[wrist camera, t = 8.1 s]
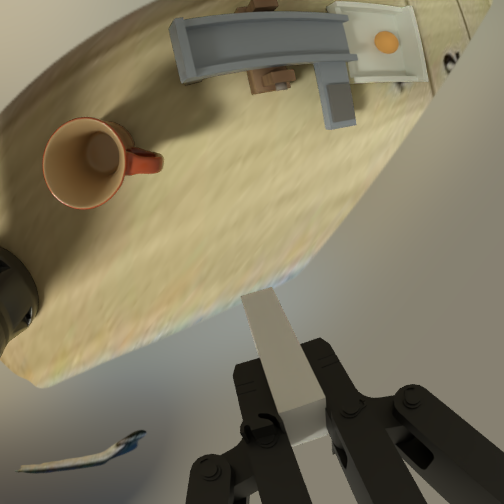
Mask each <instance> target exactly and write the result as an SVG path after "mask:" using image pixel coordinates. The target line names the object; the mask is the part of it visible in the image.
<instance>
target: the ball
mask: <svg viewBox="0 0 504 504" xmlns="http://www.w3.org/2000/svg"><path fill="white" fill-rule="evenodd" d="M374 42H375V46H376V47H377V49H378V50H379V51H381V52H383V53H385V54H391V53H394V52H395V51H396V50H397V49H398V46H399V42H398V39H397V38H396V36H395V35H394V34H392V33H390V32H387V31H382V32H379V33H378V34H377V35H376V36H375V39H374Z"/></svg>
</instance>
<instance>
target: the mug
mask: <svg viewBox="0 0 504 504" xmlns="http://www.w3.org/2000/svg"><path fill="white" fill-rule="evenodd" d="M163 165H164V157H163V155H161V154H159V153H156V152H151V151H146V150H143V149H141V148H137V147H135V144H134V141H133V138H132V137H131V135H130V133H129V132H128V131H127V130H126V129H125V128H124V127H122V126H121V125H119V124H117V123H114V122H110V121H102V120H99V119H96V118H92V117H80V118H76V119H72V120H70V121H68V122H66V123H64V124H63V125H62V126H60V127H59V128H58V129H57V130H56V131H55V132H54V133H53V135H52V136H51V137H50V139H49V141H48V143H47V145H46V148H45V151H44V155H43V174H44V178H45V182H46V184H47V186H48V188H49V190H50V191H51V193H52V194H53V195H54V196H55V198H56V199H58V200H59V201H60V202H61V203H63V204H65V205H66V206H69V207H71V208H75V209H92V208H95V207H98V206H100V205H102V204H104V203H105V202H107V201H108V200H109V199H111V198H112V197H113V196H114V195H115V193H116V192H117V191H118V190H119V188H120V187H121V185H122V183H123V180H124V177H125V176H130V175H134V174H154V173H158V172H160V171H161V170H162V169H163Z"/></svg>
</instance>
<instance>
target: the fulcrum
mask: <svg viewBox="0 0 504 504" xmlns="http://www.w3.org/2000/svg"><path fill="white" fill-rule="evenodd" d="M277 7H278V2H277V0H251V2H250V4H249V5H248V7H240V8H237V9H236V11H235V13H247V12H272V11H274V10H275V9H276V8H277ZM247 75H248V79H249V84H250V88H251V93H252V95H253V94H258V93H264V92H270V91H280V90H286V89H288V88H291V86H290V82H291V81H295V80H296V77H295V72H294V69H291V70H287V68H286V66H279V67H270V68H262V69H255V70H248V71H247ZM197 82H202V79H199V80H195V81H190V82H186V83H185V86H186V85H189V84H193V83H197Z"/></svg>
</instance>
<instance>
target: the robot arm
mask: <svg viewBox="0 0 504 504" xmlns="http://www.w3.org/2000/svg"><path fill="white" fill-rule="evenodd" d="M241 299H242V303H243V306H244V309H245V313H246V316H247V319H248V323H249V326H250V329H251V333H252V336H253V340H254V343H255V346H256V349H257V352H258V355H259V358H257V359H254V360H251V361H247V362H244V363H241V364H237V365H236V366H235V369H234V373H233V379H234V384H235V387H236V393H237V396H238V401H239V406H240V410H241V414H242V419H243V422H242V424H241V426H240V433H241V435H242V437H243V438H242V440H241V441H240V443H239V444H238V445H237V446H236V447H234V448H233V449H231V450H229V451H227V452H226V453H224V454H222V455H216V454H209V455H204V456H202V457H200V458H198V459H197V460H196V461H195V462H194V463H193V465H192V468H191V470H190V477H189V484H188V491H187V497H186V504H249V498H250V495H251V494H253V493H254V492H256V491H259V495H260V498H261V502H262V504H312V502H311V499H310V496H309V494H308V491H307V488H306V485H305V483H304V480H303V477H302V474H301V472H300V469H299V466H298V463H297V461H296V458H295V455H294V452H293V449H292V447H293V446H296V445H299V444H303V443H305V442H308V441H311V440H314V439H317V438H320V437H323V436H325V435H327V434H328V432H329V434H330V437H331V439H332V452H333V454H336V456H337V458H338V460H339V462H340V465H341V467H342V469H343V471H344V474H345V476H346V478H347V481H348V483H349V485H350V487H351V490H352V492H353V494H354V496H355V498H356V501H357V502H358V504H427V502H426V501H425V499H424V497H423V495H422V493H421V492H420V490H419V488H418V486H417V484H416V482H415V481H414V479H413V477H412V475H411V474H410V472H409V470H408V468H407V466H406V465H405V463H404V461H403V459H404V460H405V461H406V462H407V463H408V464H409V465H410V466H411V467H412V468H413V469H414V470H415V471H416V472H417V473H418V474H419V475H420V476H421V477H422V478H423V479H424V480H425V481H426V482H427V483H428V484H430V486H432V487H433V488H434V489H435V490H436V491H437V492H438V493H439V494H440V495H441V496H442V497H443V498H444V499H445V500H446V501H447V502H449V503H450V504H504V452H503V451H501V450H500V449H499V448H498V447H496V446H495V445H494V444H493V443H492V442H490V441H489V440H488V439H487V438H486V437H484V436H483V435H482V434H481V433H479V432H478V431H477V430H475V429H474V428H473V427H472V426H471V425H470V424H468V423H467V422H466V421H465V420H463V419H462V418H461V417H460V416H459V415H457V414H456V413H455V412H454V411H452V410H451V409H450V408H449V407H447V406H446V405H445V404H444V403H443V402H441V401H440V400H439V399H438V398H437V397H435V396H434V395H433V394H432V393H430V392H429V391H428V390H427V389H425V388H424V387H422V386H420V385H415V384H411V385H406V386H404V387H402V388H400V389H399V390H398V391H397V392H396V394H395V395H393V396H388V397H381V398H371V397H367V396H364V395H362V394H361V393H360V392H358V390H357V389H356V388H355V386H354V384H353V383H352V381H351V380H350V378H349V376H348V374H347V373H346V371H345V369H344V368H343V366H342V364H341V363H340V361H339V359H338V357H337V356H336V355H335V352H334V350H333V349H332V347H331V345H330V344H329V343H328V342H326V341H324V340H323V339H322V338H317V339H314V340H311V341H308V342H305V343H302V344H299V342H298V340H297V337H296V335H295V333H294V331H293V329H292V327H291V325H290V323H289V321H288V319H287V317H286V315H285V313H284V311H283V309H282V307H281V305H280V303H279V300H278V298H277V296H276V294H275V292H274V290H273V288H272V287H270V288H267V289H263V290H260V291H257V292H253V293H250V294H247V295H243V296H241ZM38 303H39V302H38V293H37V289H36V286H35V283H34V281H33V279H32V277H31V275H30V273H29V272H28V270H27V269H26V267H25V266H24V265H23V264H22V262H21V261H20V260H19V259H18V258H17V257H15V256H14V255H13V254H12V253H10V252H9V251H7V250H5V249H3V248H1V247H0V357H1V355H2V353H3V351H4V349H5V347H6V345H7V344H8V342H9V341H10V340H12V339H13V338H15V337H16V336H17V335H19V334H20V333H21V332H23V331H24V330H26V329H27V328H28V327H29V326H30V324H31V323H32V321H33V319H34V317H35V316H36V313H37V310H38ZM401 457H402V458H403V459H402V458H401Z"/></svg>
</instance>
